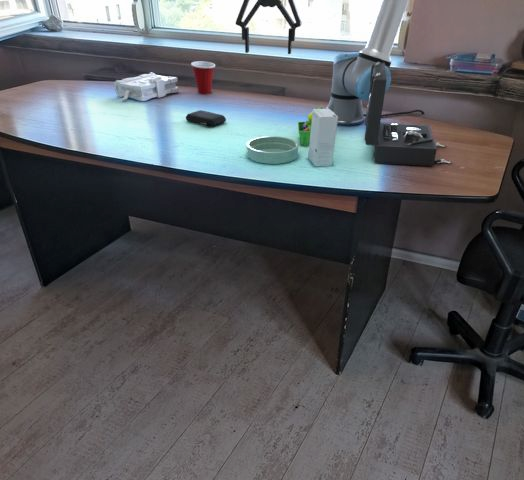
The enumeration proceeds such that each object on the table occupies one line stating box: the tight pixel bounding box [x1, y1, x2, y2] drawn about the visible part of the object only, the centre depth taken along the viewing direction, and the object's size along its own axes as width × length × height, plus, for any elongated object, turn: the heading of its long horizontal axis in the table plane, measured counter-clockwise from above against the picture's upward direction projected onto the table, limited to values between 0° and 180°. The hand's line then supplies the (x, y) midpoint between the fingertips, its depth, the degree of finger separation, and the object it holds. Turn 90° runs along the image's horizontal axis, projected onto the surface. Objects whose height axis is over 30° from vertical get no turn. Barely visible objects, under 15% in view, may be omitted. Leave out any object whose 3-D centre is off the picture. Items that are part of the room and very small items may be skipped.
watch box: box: [364, 62, 451, 167], centre depth 153 cm, size 26×28×24 cm
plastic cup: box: [190, 60, 216, 95], centre depth 220 cm, size 11×11×12 cm
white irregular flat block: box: [113, 71, 179, 102], centre depth 217 cm, size 19×28×8 cm
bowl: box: [246, 135, 299, 165], centre depth 157 cm, size 17×17×4 cm
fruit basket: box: [297, 106, 325, 146], centre depth 166 cm, size 11×9×11 cm
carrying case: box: [185, 109, 227, 128], centre depth 185 cm, size 11×3×15 cm
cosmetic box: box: [307, 108, 338, 167], centre depth 149 cm, size 8×6×15 cm
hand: (268, 52), depth 153 cm, fingers open, 13 cm apart
